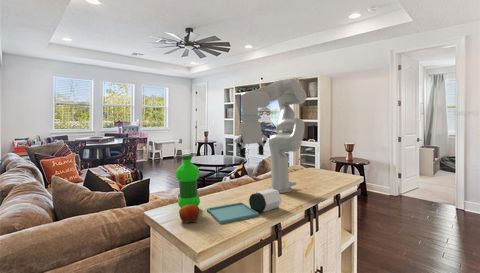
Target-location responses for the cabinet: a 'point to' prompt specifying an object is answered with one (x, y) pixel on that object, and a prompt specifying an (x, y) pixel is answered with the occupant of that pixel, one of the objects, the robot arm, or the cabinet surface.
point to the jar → (265, 200)
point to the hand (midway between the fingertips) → (252, 155)
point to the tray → (232, 212)
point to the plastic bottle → (188, 182)
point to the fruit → (189, 213)
